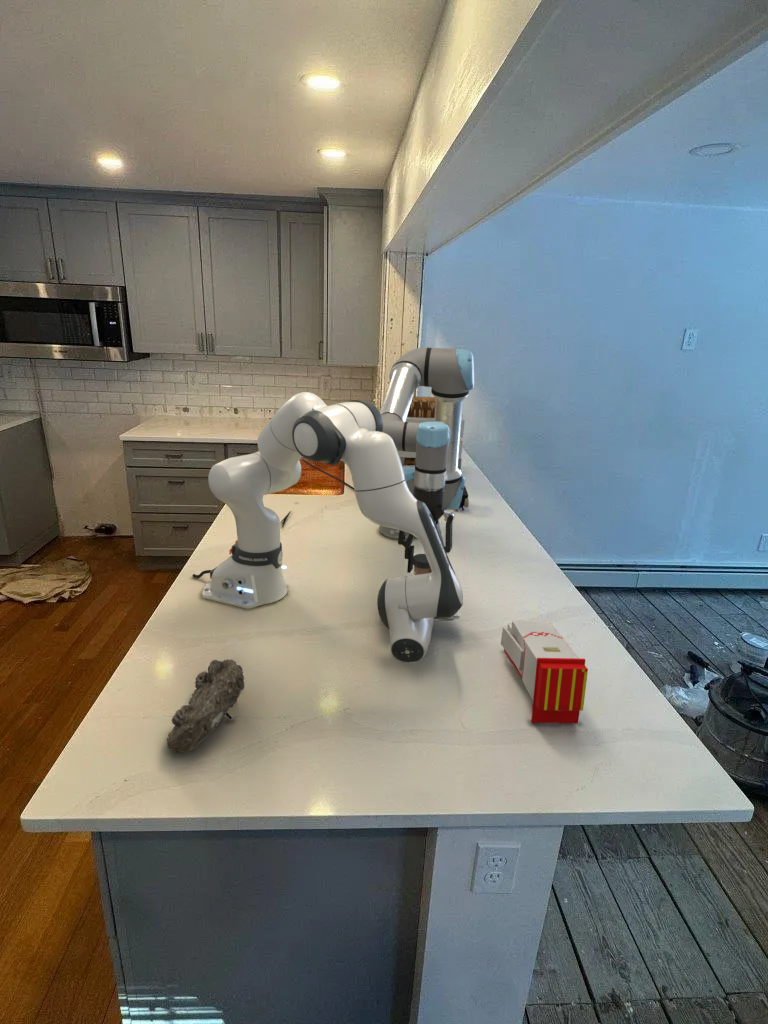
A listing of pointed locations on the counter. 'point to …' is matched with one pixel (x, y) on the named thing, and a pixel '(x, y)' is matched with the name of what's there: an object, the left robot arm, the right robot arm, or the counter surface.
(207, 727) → the fossil
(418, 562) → the lid
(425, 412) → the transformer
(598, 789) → the counter surface
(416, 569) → the jar
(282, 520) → the feather
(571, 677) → the toy
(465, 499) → the figurine character
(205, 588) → the left robot arm
